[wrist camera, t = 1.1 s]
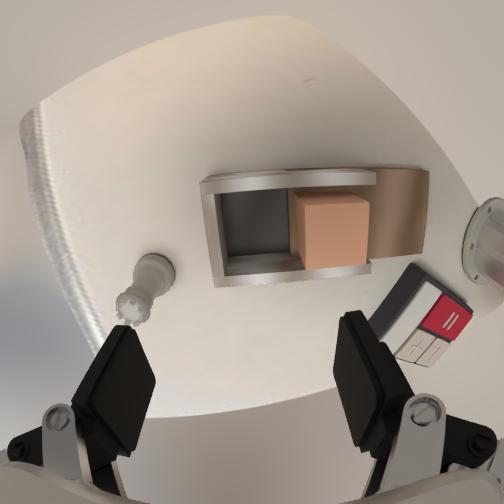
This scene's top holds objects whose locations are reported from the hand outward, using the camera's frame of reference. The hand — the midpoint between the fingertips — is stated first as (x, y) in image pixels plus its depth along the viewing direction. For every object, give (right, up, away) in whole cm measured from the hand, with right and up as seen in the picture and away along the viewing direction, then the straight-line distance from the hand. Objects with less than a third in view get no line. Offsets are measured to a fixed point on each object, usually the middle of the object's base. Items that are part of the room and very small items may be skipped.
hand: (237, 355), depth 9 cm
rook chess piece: (-10, +2, +19) cm, 21 cm away
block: (+7, +7, +15) cm, 18 cm away
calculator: (+23, -5, +22) cm, 32 cm away
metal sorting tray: (+8, +7, +16) cm, 20 cm away
